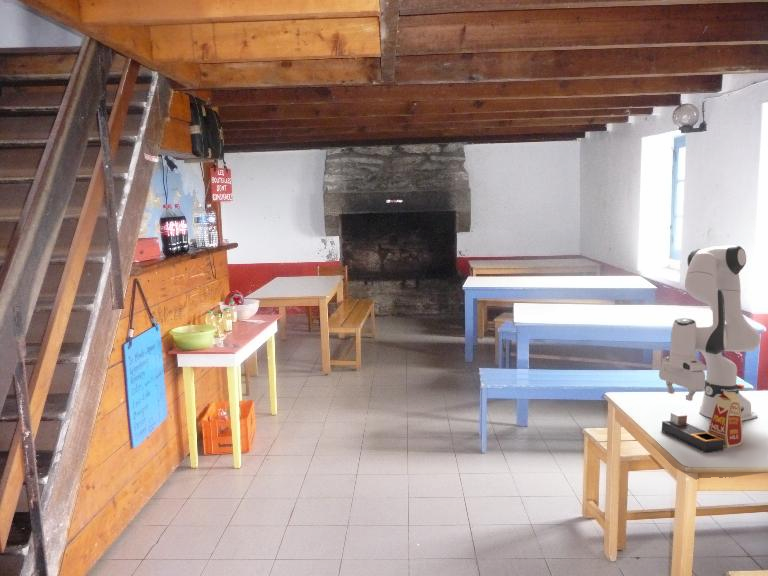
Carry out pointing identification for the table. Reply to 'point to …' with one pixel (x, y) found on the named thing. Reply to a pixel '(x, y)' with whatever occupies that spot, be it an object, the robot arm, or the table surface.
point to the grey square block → (678, 419)
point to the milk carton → (727, 420)
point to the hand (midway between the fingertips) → (679, 396)
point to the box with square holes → (694, 437)
